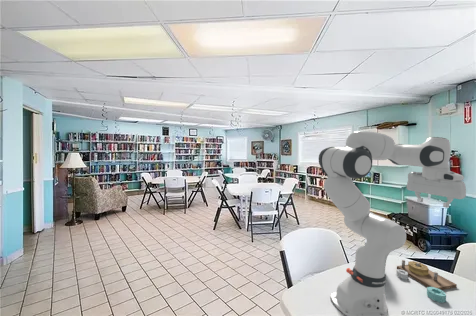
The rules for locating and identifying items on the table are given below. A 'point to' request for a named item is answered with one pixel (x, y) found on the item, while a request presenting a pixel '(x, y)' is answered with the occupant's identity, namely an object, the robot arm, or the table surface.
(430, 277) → the gear board
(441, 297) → the teal gear
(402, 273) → the grey gear
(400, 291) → the table surface
